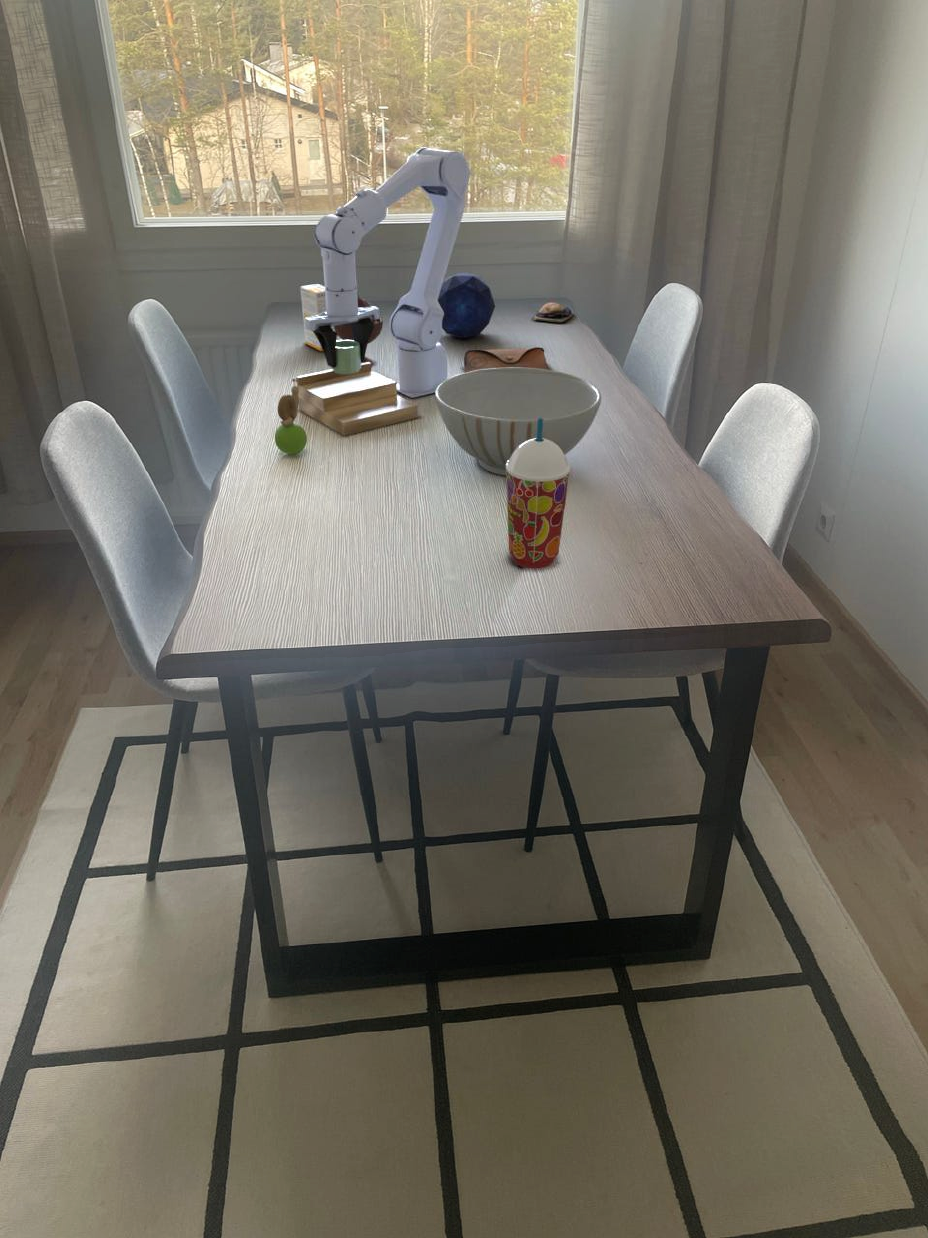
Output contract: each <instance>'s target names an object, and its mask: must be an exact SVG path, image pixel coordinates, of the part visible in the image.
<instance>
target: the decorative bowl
mask: <svg viewBox="0 0 928 1238" xmlns="http://www.w3.org/2000/svg"><path fill="white" fill-rule="evenodd" d="M434 397H435V402H436V406H437V409H438V411H439V414H440V417H441V420H442V421H443V423H444V425H445V427H446V429H447V431H448V432H449V434H450V436H451V437H452V438H453V439H454V441H455V442H456V443H457V444H458V446H459V447H460V448H462V449H463V450H464V451H465V452H466V453H467V454H468V455H470V456H471V457H473V458H474V459H476V460H478V463H479V466H481V468H483V469H485V471H488V472H490V473H493V474H496V475H501V476H506V466H505V465H506V463H507V461H508V460H509V459H510V458H511V456H512V454H513V452H514V450H515V449H516V448H517V447H518V446H519V445H520V444H521V443H523V442H525V441H526V440H529V439H533V438H537V425H538V418H542V419H543V429H542V438H544V439H548V440H550V441H552V442H554V443H555V444H557V445H558V446H559V447H560V448H561V450H562V451H563V453H564V455H565V456H566V455H568V453H570V452H571V451H572V450H573V449H574V448H575V447H576V446H577V445H578V444H579V443H580V442H581V440H582V439H583V438H584V437H585V435H586V434H587V432H588V431H589V429H590V427H591V426H592V425H593V423H594V421H595V418H596V416H597V413H598V412H599V409H600V407H601V403H602V393H601V391H600V389H599V388H598V387H597V386H596V385H594V384H593V383H591V382H590V381H588V380H586V379H584V378H582V377H580V376H576V375H574V374H570V373H567V372H562V371H558V370H552V369H549V370H545V369H537V368H521V367H506V368H490V369H482V370H475V371H470V372H466V371H465V372H463V373H459V374H456V375H454V376H451V377H449V378H447V380H445V381H444V382H442V383H441V384H440V385H439V386H438V387H437V389H436V392H435V393H434Z"/></svg>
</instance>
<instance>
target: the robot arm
mask: <svg viewBox="0 0 928 1238" xmlns="http://www.w3.org/2000/svg"><path fill="white" fill-rule="evenodd" d="M471 174H472V171H471V169H470V166H469V164H468V161H467V159H466V156H465V155H464V154H463V153H462V152H461V151H458V150H451V151H450V150H444V149H443V150H442V149H435V148H433V149H432V148H430V147H427V146H426V147H425V146H423V147H420V148H419V149H417V150H416V151H415V152H414V153H412V154H410V155H409V156H408V157H407V161H406V162H405V163H404V164H403V165H402V166H401V167H400V168H399V169H398V170H396V171H395V172H394V173H393V174H392V175H391V176H390V177H388V178H387V179H386V180H385V181H384V182H383V183H381V185H380V186H379V187H378V188H377V189H375V190H372V189H370V188H367V189H359V190H358V191H355V197H354V198H352V199H351V200H350V201H348V202H347V203H346V204H345V205H343V206H339V207H338V208H337V209H336V212H335V213H334V214H326V215H324V216H322V217H321V218H320V219H319V220H318V223H317V225H316V227H315V232H313V238H314V241H315V243H316V245H317V246H318V247H319V249H320V257H322V268H323V280H324V281H323V282H324V283H323V284H324V287H325V296H326V310H327V312H325V313H321V314H318V315H315V316H312V317H308V318H305V327H306V329H307V330H310V331H313V332H314V334H315V335H316V337H317V339H318V341H319V343H320V345H321V347H322V349H323V351H322V352H323V354H324V357H325V359H326V365H327V366H328V367H330V368H331V367H332V368H334V367H336V338H338V335H337V332H335V331H333V329H332V328H331V326H336V325H341V324H347V323H350V325H351V329H352V333H353V339H354V341H357V342H359V343H360V355H361V362H363V361H364V358H365V357H366V353H367V347H368V341H369V338H370V336H371V334H372V332H373V330H374V327H375V325H374V322H371V319H374V320H376V319H379V317H380V308H379V307H377V306H374V307H365V308H358V300H357V295H358V286H357V285H358V282H357V266H356V251H357V250H358V249H359V247H360V245H361V243H362V239H363V237H364V236H366V234H367V233H369V232H370V231H371V230H372V229H374V228H375V227H376V226H378V225H379V224H380V223H381V222H382V221H384V220H385V219H386V217H387V212H388V208H389V207H390V206H392V205H393V204H395V203H396V202H398V201H399V200H401V199H402V198H404V197H405V196H406V195H408V194H410V193H411V192H412V191H415V189H417V188H418V187H419V188H421V189H422V191H423V192H424V193H425V195H426V196H427V197H428V199H429V200H430V202H431V204H432V206H433V211H432V215H431V219H430V222H429V224H428V225H429V226H428V229H427V232H426V236H425V238H424V243H423V246H422V250H421V253H420V256H419V259H418V264H417V267H416V271H415V274H414V278H413V281H412V285H411V288H410V290H409V292H408V293H406V294H404V295H403V296H401V297H400V299H399V301H398V304H397V306H396V308H395V310H394V311H393V312H392V314H391V315H390V318H389V323H388V327H389V332H390V334H391V336H392V337H393V338H395V344H396V345H397V361H398V362H397V363H398V383H397V393H400V394H403V395H404V396H407V397H409V398H412V399H413V398H418V397H423V396H427V395H431V394H435V392H436V389H437V387H438V386H439V385H440V384H441V383H442V382H444V381H445V380H447V379H448V354H447V351H446V349H445V347H444V345H443V344H442V343H440V340H441V339H442V335H443V328H442V319H443V316H444V312H443V310H442V308H441V306H440V305H439V303H438V297H439V293H440V290H441V287H442V283H443V281H444V280H445V277H446V273H447V270H448V266H449V263H450V260H451V256H452V253H453V250H454V246H455V243H456V240H457V236H458V234H459V233H458V232H459V229H460V226H461V222H462V219H463V216H464V212H465V208H466V193H467V188H468V186H469V181H470V178H471ZM332 368H331V369H332Z"/></svg>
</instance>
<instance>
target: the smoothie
mask: <svg viewBox="0 0 928 1238" xmlns="http://www.w3.org/2000/svg"><path fill="white" fill-rule="evenodd" d="M542 429H543V419H542V418H538V425H537V438H533V439H529V440H526V441H525V442H523V443H521V444H520V445H519V446H518V447H517V448H516V449H515V450H514V452H513V454H512V456H511V458H510V459H509V460H508V461H507V463H506V465H505V466H506V475H505V476H506V477H505V478H506V479H505V480H506V507H507V508H506V509H507V511H506V512H507V535H508V537H507V538H508V540H507V541H508V552H509V554H510V555H511V557H512V561H513V562H514V564H516V565H518V566H519V567H523V568H526V569H532V570H533V569H534V570H535V569H544V568H547V567H549V566H552V564H553V563H554V561H555V558H556V557H558V556H559V552H560V544H561V539H562V531H563V523H564V515H565V508H566V500H567V494H568V486H569V479H570V472H571V469H572V467H571V464H570V463H569V462H568V460H567V457H566V455H564V453H563V451H562V450H561V448H560V447H559V446H558V445H557V444H555V443H554V442H552V441H550V440H548V439H544V438H542Z"/></svg>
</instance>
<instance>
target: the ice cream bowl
mask: <svg viewBox="0 0 928 1238" xmlns="http://www.w3.org/2000/svg"><path fill="white" fill-rule="evenodd" d="M357 300H358V308H365V307H375V306H374V305H373V304H372V303H370V302H369V301H368V300H366V299H364V298H363V297H361V295H359V294H357ZM371 322H374V325H375V327H374V330H373V332H372V334H371V336H370V338H369V341H368V344H371V343H372V342H373V341H375V340H377V338H378V337H379V336H380V334H381V332H382V329H383V324H384V318H383V317H382V316H379V319H376V320H374V319H371ZM334 329H335V331H336V332H337V337H338V338H340V340H353V341H354V339H353V333H352V329H351V325H350V323H347V324H341V325H336V326H334ZM368 344H367V345H368ZM366 362H370V363H371V366H373V360H372V359H370V358H369V357H368V356H365V358H364V361H363V362H361V363H366Z"/></svg>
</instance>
